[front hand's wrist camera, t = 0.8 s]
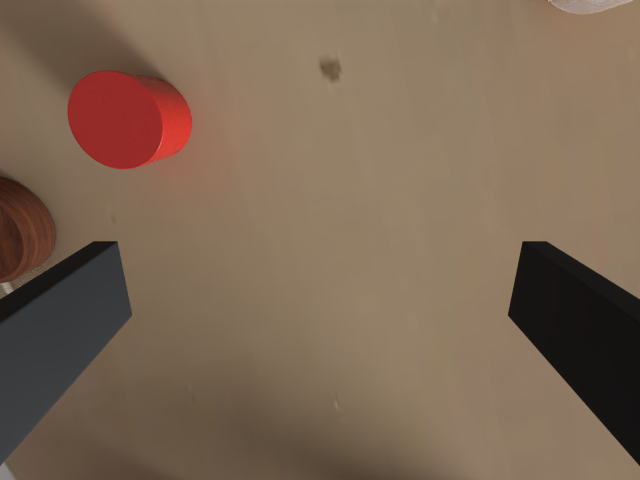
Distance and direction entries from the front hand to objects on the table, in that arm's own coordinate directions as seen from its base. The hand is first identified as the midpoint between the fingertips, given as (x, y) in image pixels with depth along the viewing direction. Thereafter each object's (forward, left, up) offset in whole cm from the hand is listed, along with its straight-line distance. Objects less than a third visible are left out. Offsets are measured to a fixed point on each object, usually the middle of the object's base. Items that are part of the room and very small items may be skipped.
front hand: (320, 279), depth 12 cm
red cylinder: (-6, -15, -27) cm, 31 cm away
